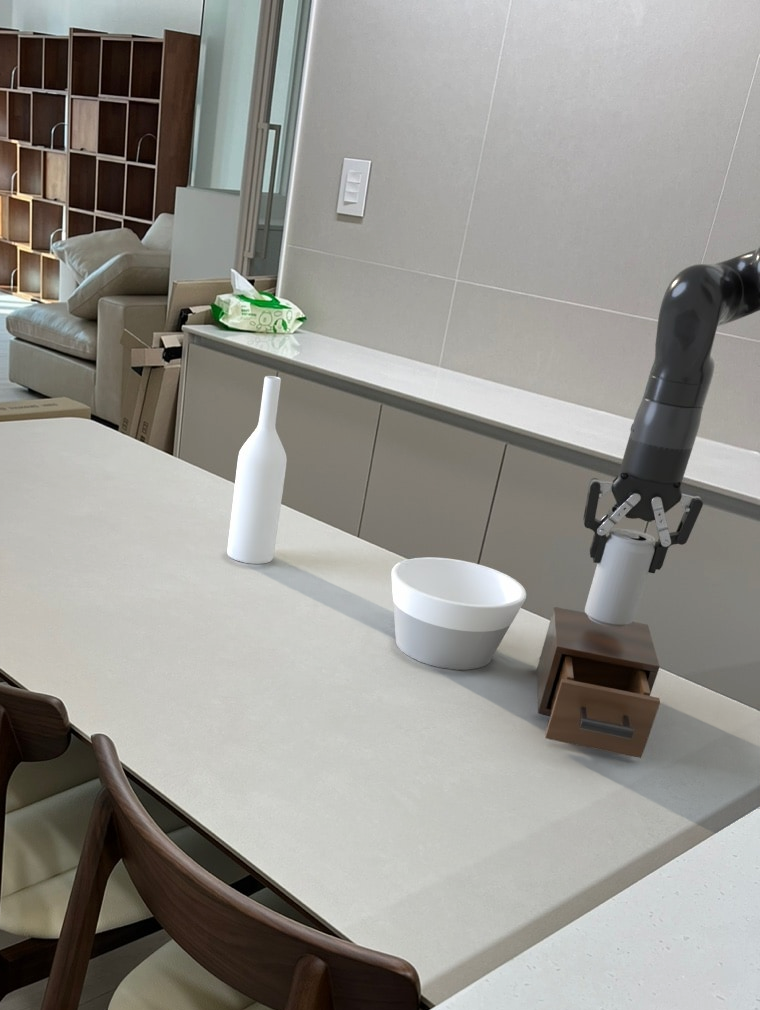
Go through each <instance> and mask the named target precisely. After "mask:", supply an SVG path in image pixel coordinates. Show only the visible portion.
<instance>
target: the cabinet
mask: <svg viewBox="0 0 760 1010" xmlns="http://www.w3.org/2000/svg"><path fill="white" fill-rule="evenodd" d="M656 651H657V650H656V648H655V645H654V641H653V637H652V634H651V631H650V626H649V624H647V623H642V622H637V621H633V622H632V623H630V624H628V625H626V626H625V627H621V628H614V627H608V626H604V625H600V624H598V623H595V622H594V621H592V620H590V619H589V617H588V615H587V614H586V613H585V611H579V610H573V609H568V608H562V607H557V606H553V610H552V613H551V617H550V620H549V623H548V628H547V631H546V635H545V638H544V641H543V646H542V649H541V652H540V656H539V659H538V663H537V667H536V687H537V689H536V690H537V691H536V692H537V694H536V695H537V714H540V715H545V716H549V717H550V716H551V691H552V687H553V684H554V681H555V677H556V674H557V670H558V667H559V663H560V660H561V656H562V654H565V655H571V656H576V657H581V658H586V659H591V660H596V661H601V662H606V663H611V664H616V665H622V666H627V667H632V668H637V669H642V670H645V673H646V677H647V681H648V685H649V689H650V693H651V694H652V692H653V688H654V685H655V682H656V680H657V676H658V673H659V670H660V662H659V659H658V655H657V652H656Z"/></svg>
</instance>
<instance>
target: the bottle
mask: <svg viewBox="0 0 760 1010" xmlns="http://www.w3.org/2000/svg"><path fill="white" fill-rule="evenodd" d="M281 383H282V378H281V377H279V376H275V375H265V376H264V379H263V386H262V387H263V388H262V395H261V402H260V404H261V405H260V409H259V410H260V411H259V418H258V423H257V426H256V428H255V429H254V431H253V432H252V433H251V435H250V436H249V437H248V438H247V440H246V441H245V442H244V443H243V445H242V447H241V448H240V450H239V451H238V456H237V463H236V471H235V472H236V473H235V478H234V479H235V481H234V490H233V497H232V506H231V514H230V522H229V523H230V524H229V531H228V540H227V547H226V549H227V550H226V554H227V555H228V557H229V558H230V559H232V560H235V561H237V562H240V563H244V564H252V565H263V564H267V563H270V562H272V561H273V559H274V556H275V550H276V542H277V535H278V528H279V522H280V521H279V520H280V514H281V507H282V499H283V492H284V484H285V478H286V471H287V459H288V458H287V454H286V451H285V448H284V446H283V443H282V441H281V438H280V436H279V434H278V432H277V428H276V421H277V415H278V414H277V413H278V406H279V398H280V390H281Z"/></svg>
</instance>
